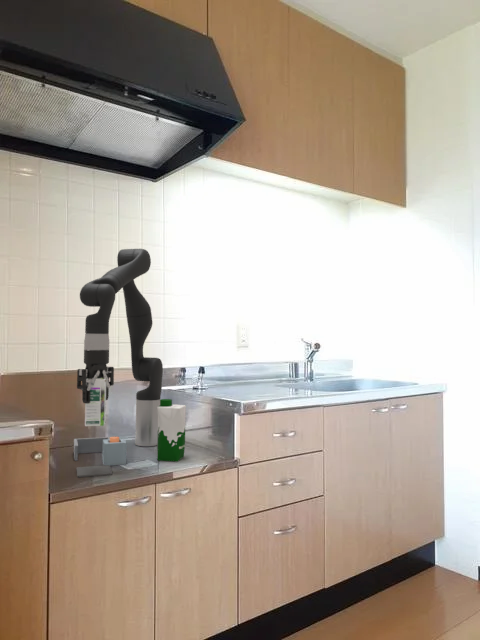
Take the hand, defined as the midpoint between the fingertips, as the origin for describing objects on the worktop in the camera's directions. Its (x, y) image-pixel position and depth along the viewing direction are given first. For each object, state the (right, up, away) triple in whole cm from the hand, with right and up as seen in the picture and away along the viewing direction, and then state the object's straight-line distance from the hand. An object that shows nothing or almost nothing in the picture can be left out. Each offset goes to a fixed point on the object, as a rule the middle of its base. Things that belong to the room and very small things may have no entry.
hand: (95, 401), depth 161 cm
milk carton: (+21, -22, +17) cm, 35 cm away
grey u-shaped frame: (-6, -22, +20) cm, 30 cm away
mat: (0, -21, -1) cm, 21 cm away
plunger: (+3, -20, +11) cm, 23 cm away
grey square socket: (+3, -22, +11) cm, 25 cm away
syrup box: (0, -7, 0) cm, 7 cm away
